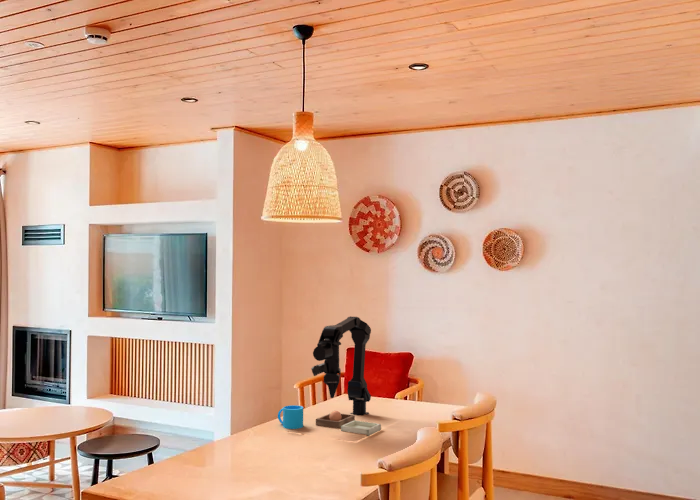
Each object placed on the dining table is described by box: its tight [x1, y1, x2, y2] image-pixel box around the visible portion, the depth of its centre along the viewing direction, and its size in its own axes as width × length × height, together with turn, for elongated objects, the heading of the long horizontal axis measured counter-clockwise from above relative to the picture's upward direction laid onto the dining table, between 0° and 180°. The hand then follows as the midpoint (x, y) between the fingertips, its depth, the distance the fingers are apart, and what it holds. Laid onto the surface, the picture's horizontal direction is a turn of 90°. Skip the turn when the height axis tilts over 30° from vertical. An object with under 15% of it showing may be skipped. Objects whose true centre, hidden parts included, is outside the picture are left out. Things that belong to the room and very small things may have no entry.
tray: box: [340, 419, 382, 437], centre depth 243 cm, size 11×12×2 cm
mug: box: [277, 404, 304, 430], centre depth 249 cm, size 12×8×8 cm
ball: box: [329, 410, 342, 422], centre depth 253 cm, size 5×5×5 cm
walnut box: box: [315, 412, 356, 429], centre depth 253 cm, size 14×11×3 cm
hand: (332, 395), depth 251 cm, fingers open, 9 cm apart
